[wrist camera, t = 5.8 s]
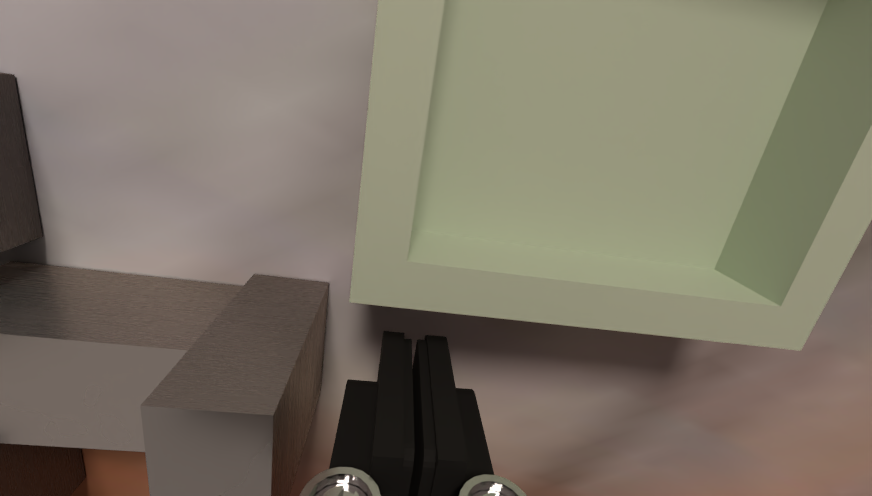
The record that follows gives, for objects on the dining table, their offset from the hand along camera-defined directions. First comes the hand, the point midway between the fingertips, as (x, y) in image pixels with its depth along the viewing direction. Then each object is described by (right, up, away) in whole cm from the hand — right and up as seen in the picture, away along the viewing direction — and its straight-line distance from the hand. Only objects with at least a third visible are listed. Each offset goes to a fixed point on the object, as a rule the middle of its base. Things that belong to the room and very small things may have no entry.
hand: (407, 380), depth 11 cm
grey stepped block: (-6, +1, +1) cm, 7 cm away
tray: (+5, +8, -1) cm, 9 cm away
